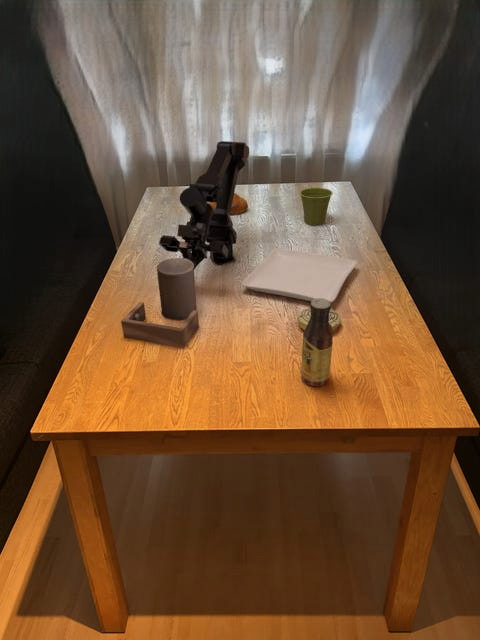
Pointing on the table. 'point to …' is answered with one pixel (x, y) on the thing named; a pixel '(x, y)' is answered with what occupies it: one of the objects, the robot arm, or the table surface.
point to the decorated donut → (306, 314)
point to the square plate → (300, 275)
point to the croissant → (235, 205)
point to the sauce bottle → (317, 344)
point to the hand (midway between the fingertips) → (187, 275)
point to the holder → (158, 329)
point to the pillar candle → (176, 288)
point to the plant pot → (315, 204)
